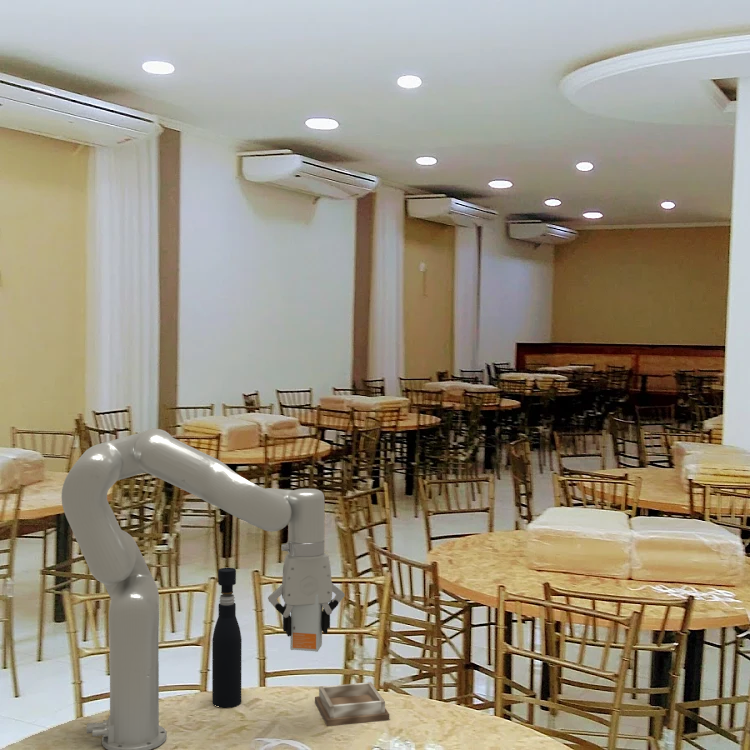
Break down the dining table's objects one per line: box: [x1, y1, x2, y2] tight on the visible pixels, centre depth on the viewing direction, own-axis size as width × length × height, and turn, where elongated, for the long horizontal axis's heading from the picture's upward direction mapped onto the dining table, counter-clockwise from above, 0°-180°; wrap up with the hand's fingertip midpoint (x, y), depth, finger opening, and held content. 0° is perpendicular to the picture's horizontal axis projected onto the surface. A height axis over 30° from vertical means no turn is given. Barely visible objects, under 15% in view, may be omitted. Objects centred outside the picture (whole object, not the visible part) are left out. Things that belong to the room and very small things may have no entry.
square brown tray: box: [314, 681, 390, 727], centre depth 204 cm, size 14×14×4 cm
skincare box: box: [289, 595, 323, 653], centre depth 195 cm, size 6×4×12 cm
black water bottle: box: [211, 567, 243, 708], centre depth 208 cm, size 6×6×30 cm
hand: (306, 632), depth 195 cm, fingers closed on skincare box, 7 cm apart
